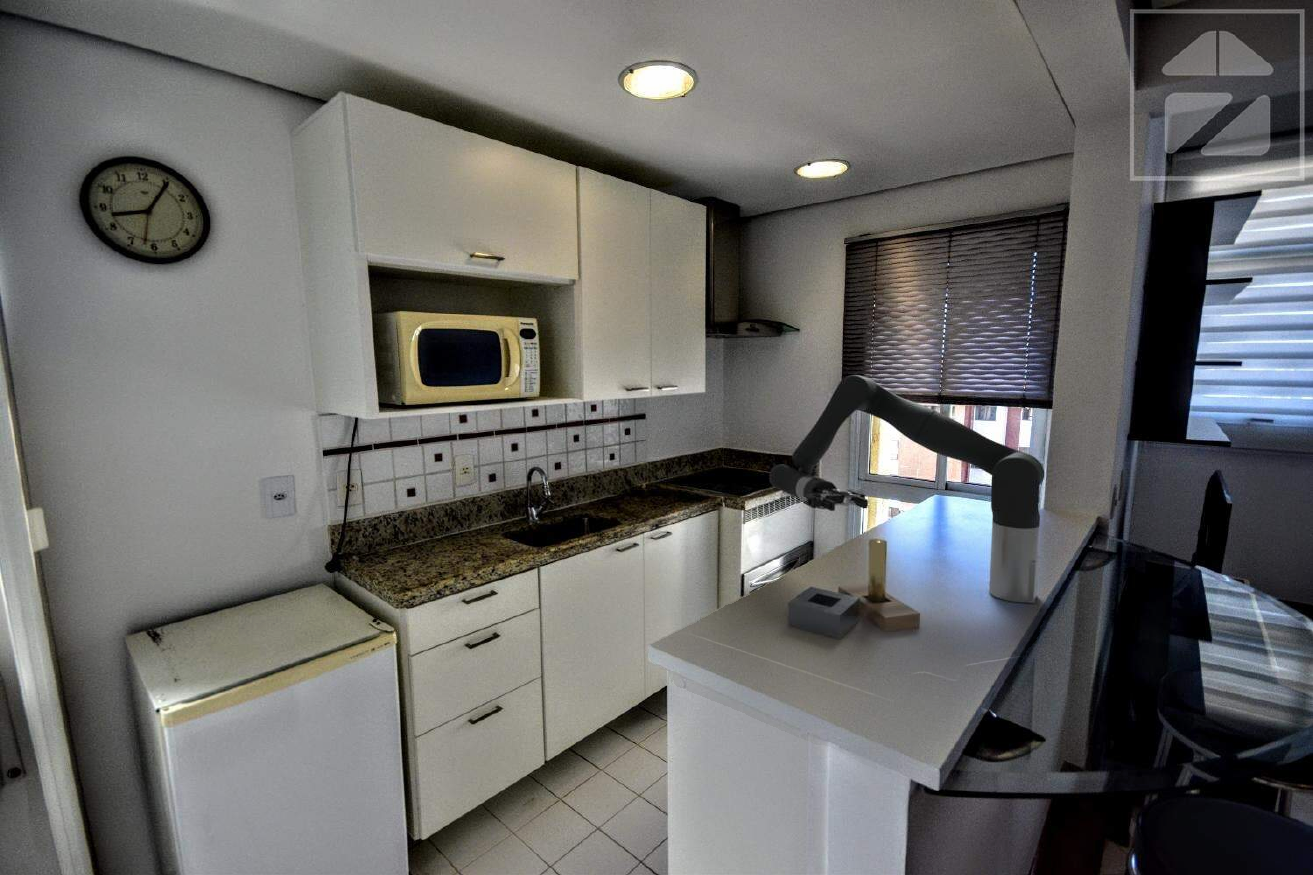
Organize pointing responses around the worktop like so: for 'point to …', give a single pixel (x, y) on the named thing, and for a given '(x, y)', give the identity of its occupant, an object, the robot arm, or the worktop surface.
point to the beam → (883, 609)
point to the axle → (877, 571)
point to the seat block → (823, 612)
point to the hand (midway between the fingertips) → (850, 505)
